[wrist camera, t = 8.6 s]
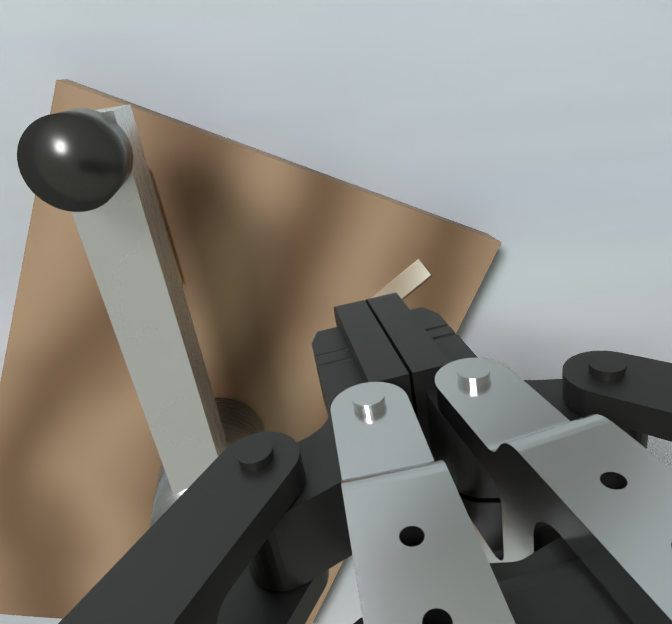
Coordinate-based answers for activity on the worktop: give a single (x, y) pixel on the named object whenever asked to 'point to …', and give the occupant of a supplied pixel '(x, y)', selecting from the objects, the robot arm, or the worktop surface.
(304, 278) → the dial plate
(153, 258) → the lever
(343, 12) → the worktop surface
